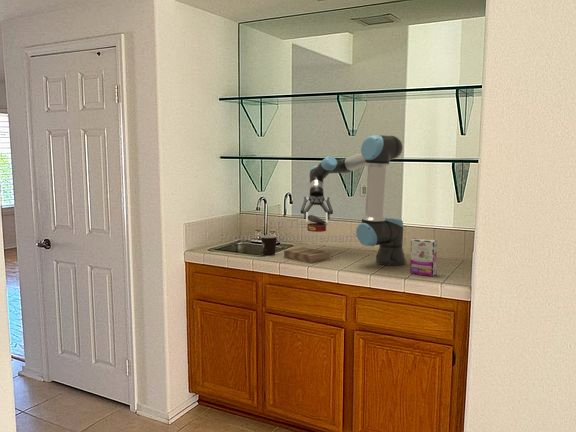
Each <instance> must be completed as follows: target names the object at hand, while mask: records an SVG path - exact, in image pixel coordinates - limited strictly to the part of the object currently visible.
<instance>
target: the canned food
mask: <svg viewBox="0 0 576 432" xmlns="http://www.w3.org/2000/svg"><path fill="white" fill-rule="evenodd" d="M308 221H310V222H311V223H308V225H306V226H307V229H306V230H307V231H308V232H313V233H314V232H315V233H323V232H327V225H326V220H324V219H322V218H320V217H319V216H316V215H313V214H308Z"/></svg>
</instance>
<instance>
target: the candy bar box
mask: <svg viewBox="0 0 576 432" xmlns="http://www.w3.org/2000/svg"><path fill="white" fill-rule="evenodd" d="M437 249H438V240H437V239H426V238H424V239H423V238H412V239H410V262H409V266H410V267H409V273H410V274H411V273H412V275H418V274H419V275H420V276H426V277H434V276H436V275H437V257H438V256H437V255H438V253H437V252H438V250H437ZM419 275H418V276H419Z"/></svg>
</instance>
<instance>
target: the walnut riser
mask: <svg viewBox="0 0 576 432" xmlns="http://www.w3.org/2000/svg"><path fill="white" fill-rule="evenodd" d="M283 256H284V259H288V260H293V261H298V262H303V263H307V264H315V263H318V262H319V263H320V262H325V261H328V260H329V261H330V251H324V250H320V249H316V248H310V247H304V246H301V247H294V248H289V249H284V250H283Z"/></svg>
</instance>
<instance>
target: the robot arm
mask: <svg viewBox="0 0 576 432" xmlns="http://www.w3.org/2000/svg"><path fill="white" fill-rule="evenodd" d="M403 147H404V146H403V143H402V141H401V139H400V138H399V137H397V136H395V135H385V134H384V135H380V134H379V135H378V134H375V135H369V136H367V137H366V138H365V139H364V140H363V141H362V144H361V146H360V152H359V153H357V154H356V153H355V154H353V155H350V156H347V157H345V158H343V159H336V158H335V157H334V156H331V155H327V156H326V157H324V159H322V161H320V163H319V164H318V165H313V166H311V168H310V169H309V196H308V197H306V196H303V202H302V205H301V208H300V214H303V220H305V226H307V225H308V224H309V223H308V221H309V220H308V216H309V211H310V210H311V208H312V207H313V206H320V207H321V208H322V209H323V211H324V213H325V222H326V223H325V224H326V226H328V222H329V221H328V220H330V215H333V213H334V210H333V207H332V205H331V202H330V197H329V196H328V197H325V196H324V179H325V178H327V177H328V176H329V175H330V174H350V173H352V172H353V171H354V170H357V169H360V168H364V167H366V166H367V176H366V177H367V178H366V194H365V213H364V215H363V216H362V217H361V223H359V224H358V226H356V230H355V234H356V235H355V236H356V238H357V240H358V241H359V243H360V244H361V245H362V246H365V247H374V246H379V247H378V250H377V253H376V256H375V263H377V264H379V265H382V266H383V265H384V266H402V265H405V264H406V260H407V259H406V256H405V252H404V249H403V246H404V245H403V244H404V243H403V241H404V238H403V237H404V222H403V220H402V219H398V218H392V217H391V218H390V217H384V215H383V214H384V201H385V186H386V185H385V184H386V171H387V170H386V169H387V167H388V166H389V165H390V161H391V160H395V159H397V158H399V156H400V155H402V152H403ZM308 202H309V203H308ZM307 203H308V204H307ZM325 203H326V204H325ZM306 205H307V206H306ZM305 207H306V208H305Z"/></svg>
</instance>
